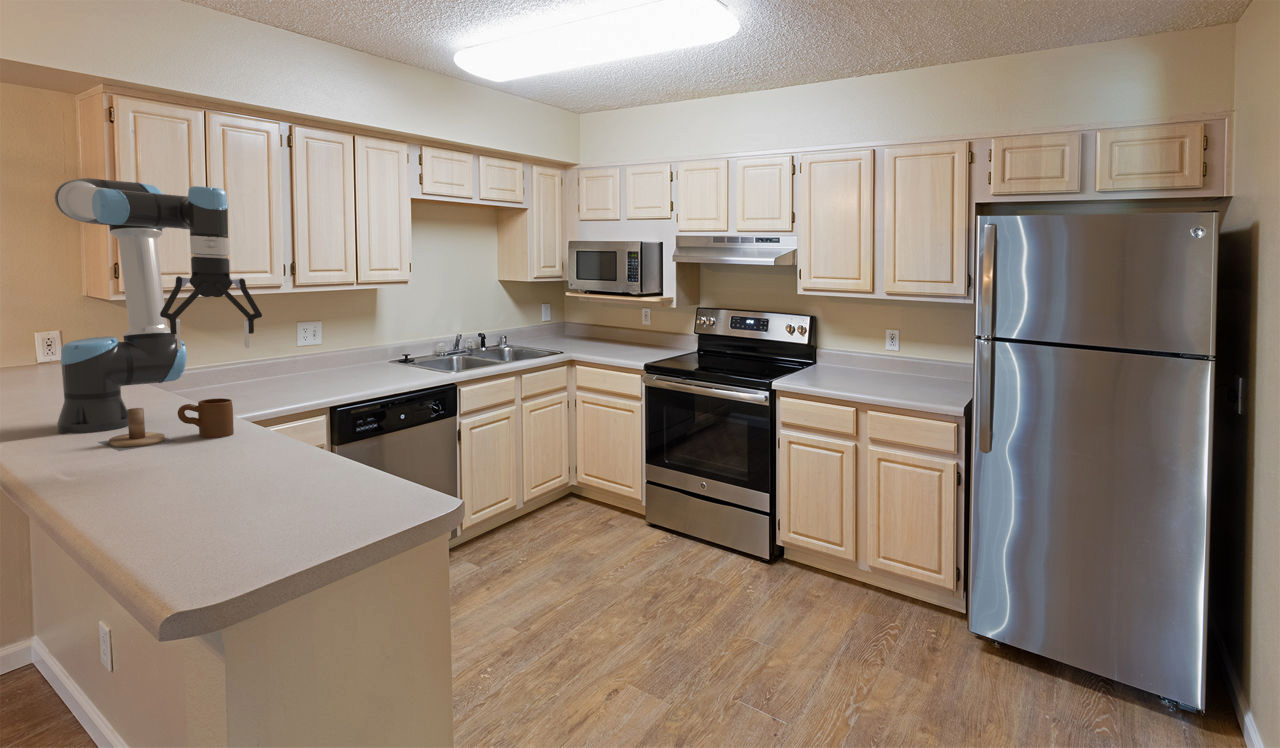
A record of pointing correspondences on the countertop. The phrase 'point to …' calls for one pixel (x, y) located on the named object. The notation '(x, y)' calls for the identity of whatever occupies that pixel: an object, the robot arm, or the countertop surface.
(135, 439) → the lid
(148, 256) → the robot arm
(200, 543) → the countertop surface
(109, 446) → the mat
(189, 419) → the mug
